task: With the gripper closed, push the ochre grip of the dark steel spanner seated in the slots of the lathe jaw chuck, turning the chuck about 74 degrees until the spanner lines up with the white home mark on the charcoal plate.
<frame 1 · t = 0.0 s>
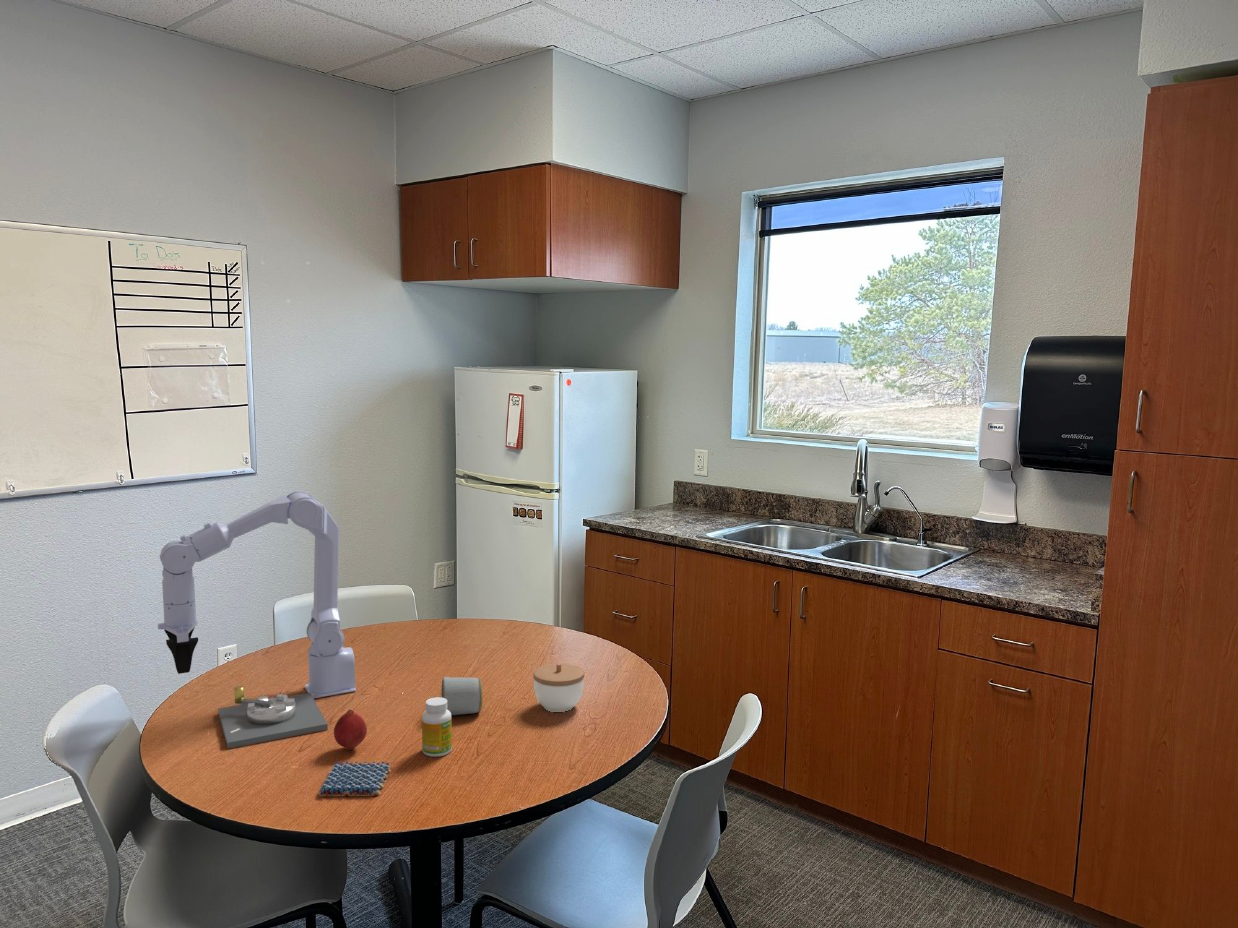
hand: (182, 666, 176), 10 cm above the table, tool pointing down, fingers open, 7 cm apart
base plate: (271, 721, 174), on the table
onion: (350, 750, 163), on the table
ceramic mug: (459, 711, 181), on the table
lidded jar: (558, 707, 184), on the table
lathe jaw chuck: (263, 702, 174), point 4 cm above the table, hinge at 0.0°
woven mat: (356, 785, 150), on the table
supplement bottle: (437, 751, 163), on the table
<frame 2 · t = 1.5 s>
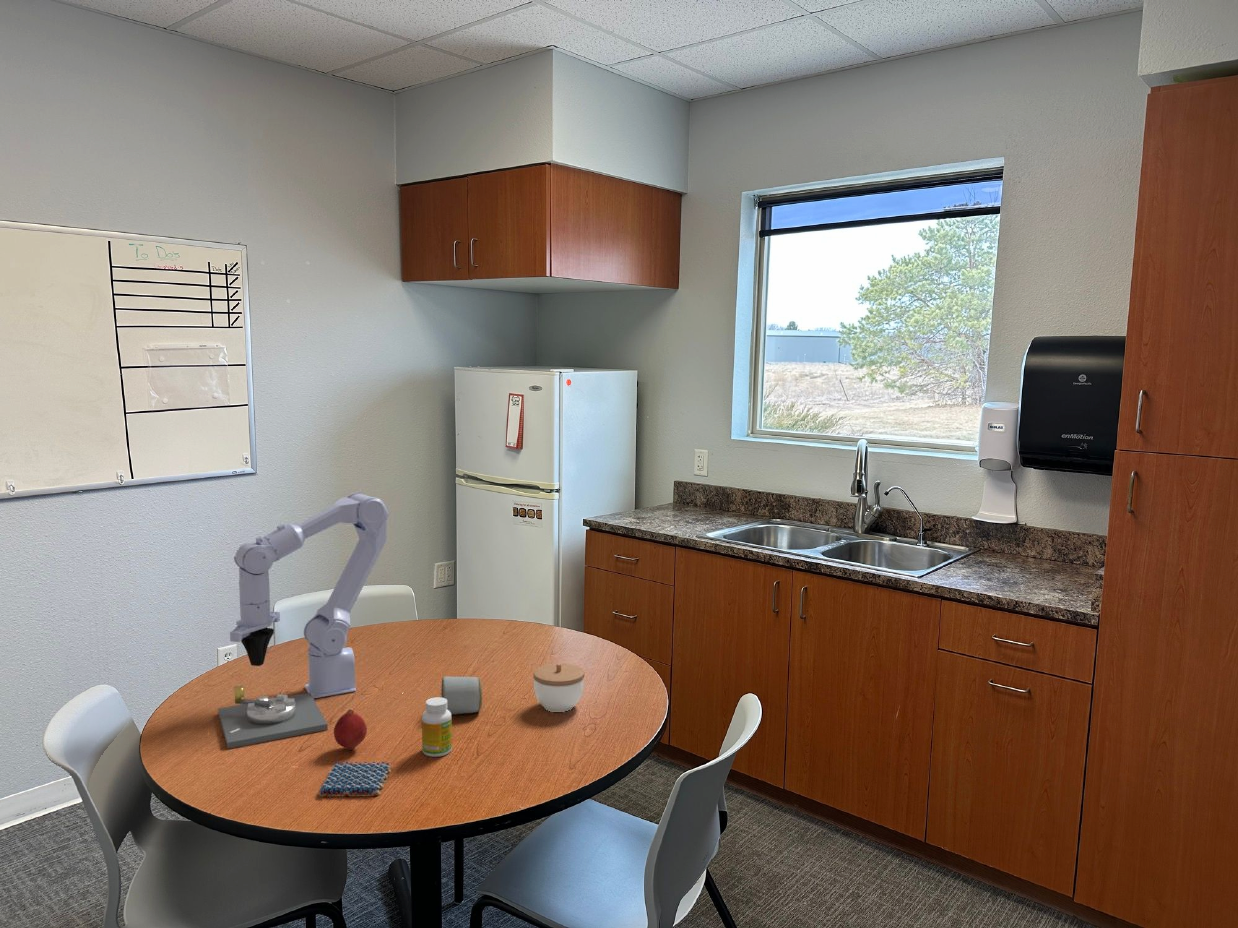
hand: (257, 664, 181), 9 cm above the table, tool pointing down, fingers closed
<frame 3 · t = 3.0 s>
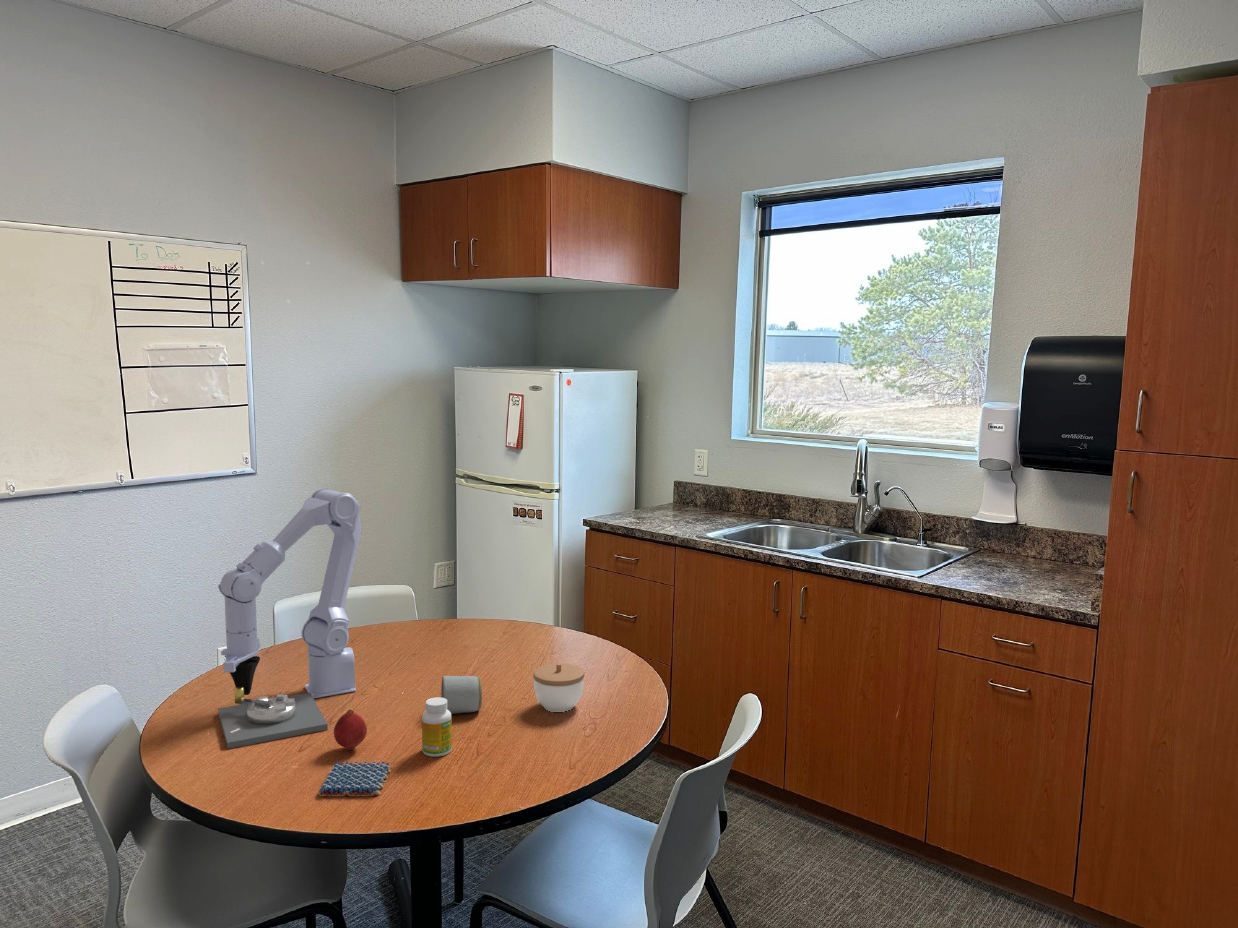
hand: (244, 693, 177), 4 cm above the table, tool pointing down, fingers closed, pressing on lathe jaw chuck
lathe jaw chuck: (263, 702, 174), point 4 cm above the table, hinge at 0.1°, touching gripper
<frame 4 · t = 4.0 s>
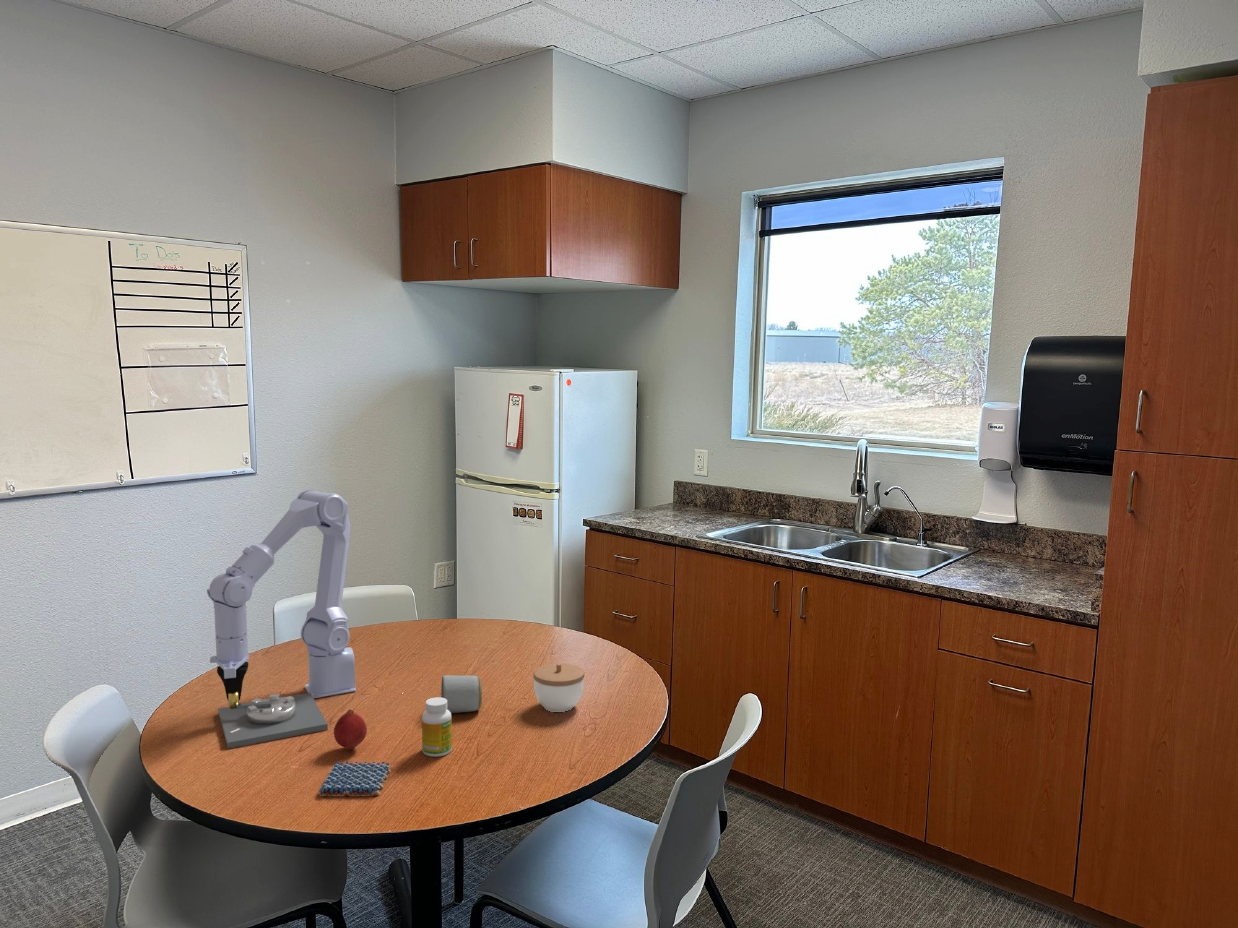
hand: (234, 700, 174), 4 cm above the table, tool pointing down, fingers closed, pressing on lathe jaw chuck
lathe jaw chuck: (262, 703, 174), point 4 cm above the table, hinge at 22.4°, touching gripper
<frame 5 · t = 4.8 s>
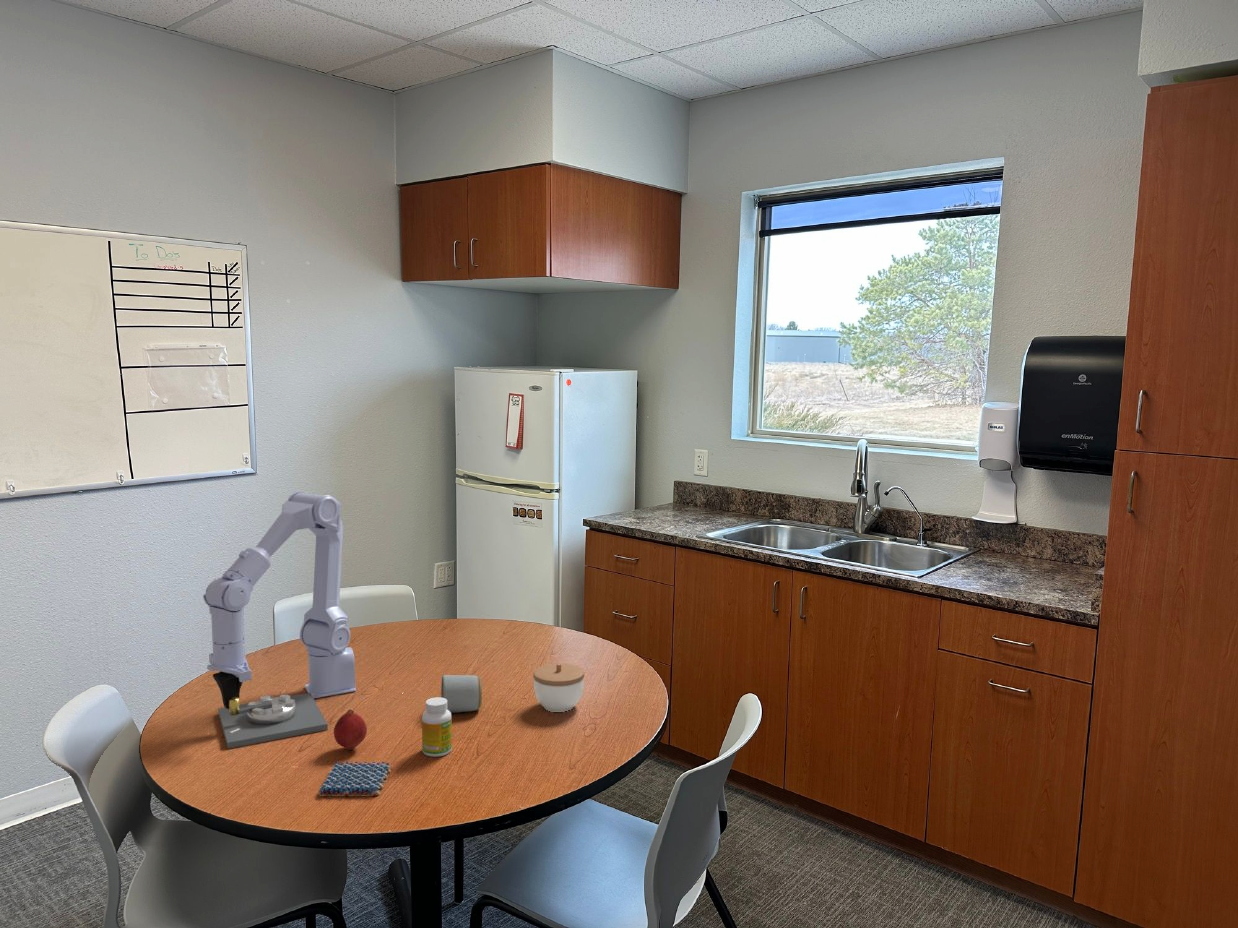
hand: (231, 706, 170), 4 cm above the table, tool pointing down, fingers closed, pressing on lathe jaw chuck
lathe jaw chuck: (262, 704, 173), point 4 cm above the table, hinge at 49.7°, touching gripper
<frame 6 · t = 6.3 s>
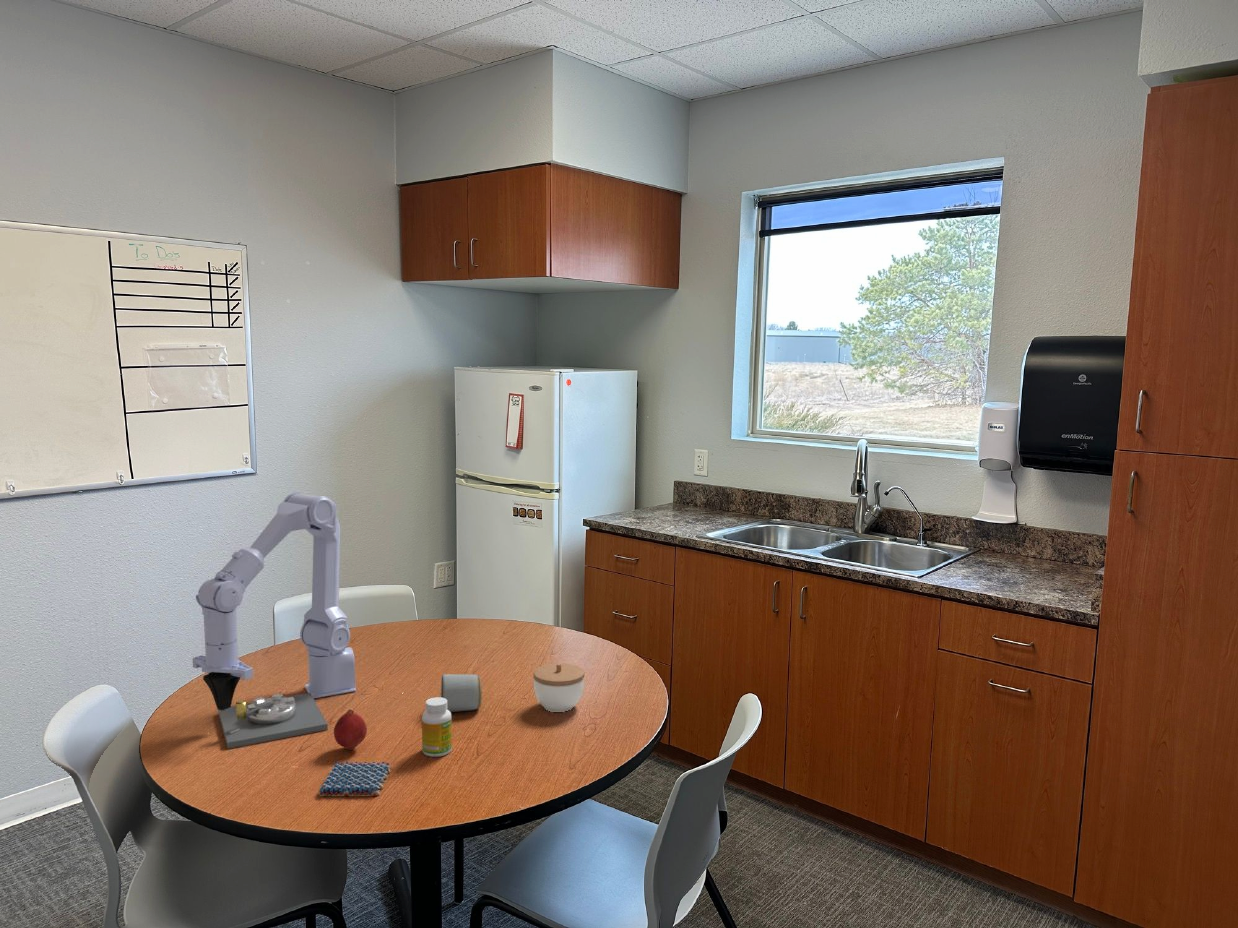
hand: (224, 708, 170), 4 cm above the table, tool pointing down, fingers closed
lathe jaw chuck: (264, 705, 172), point 4 cm above the table, hinge at 72.4°
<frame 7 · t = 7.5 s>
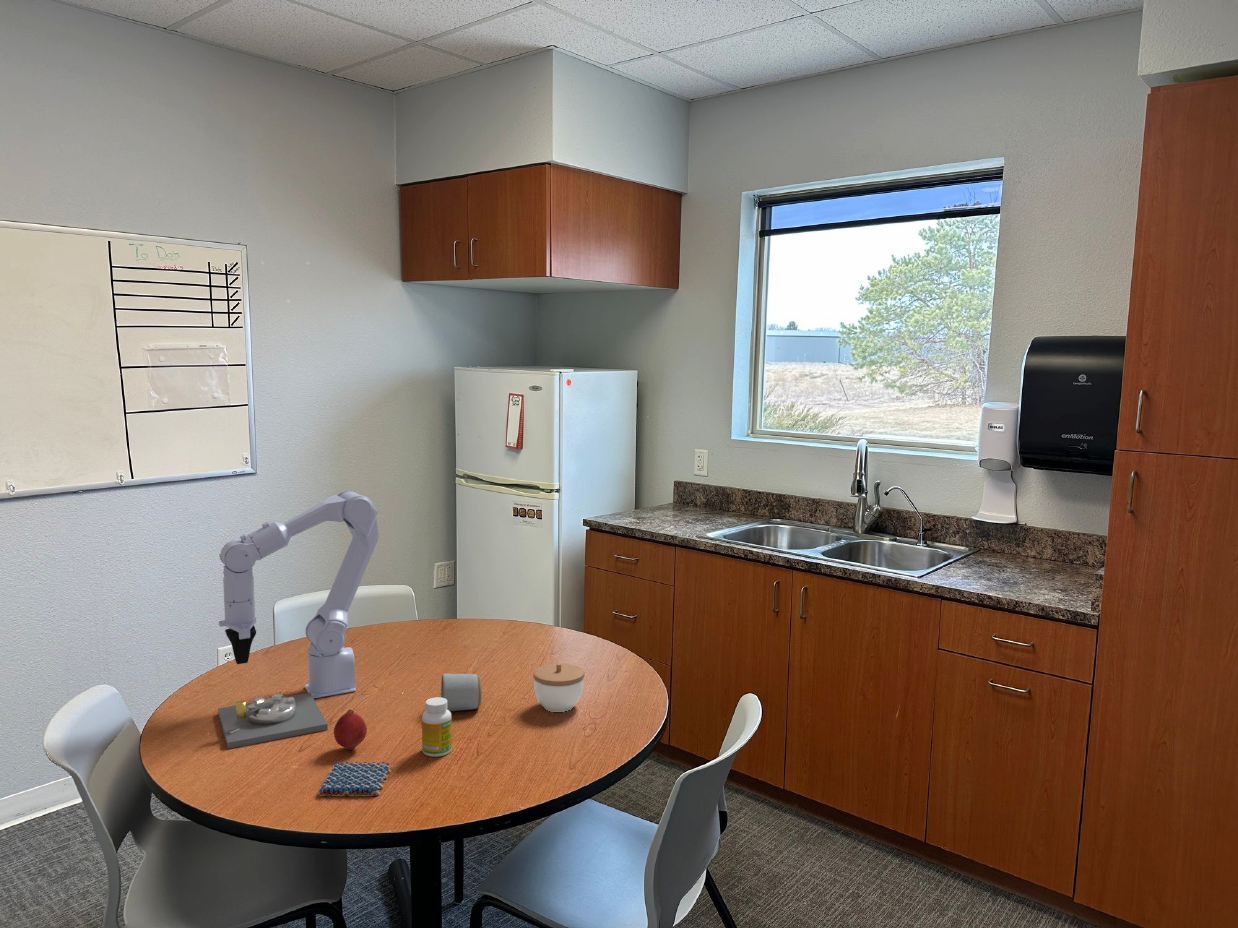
hand: (241, 662, 181), 9 cm above the table, tool pointing down, fingers closed
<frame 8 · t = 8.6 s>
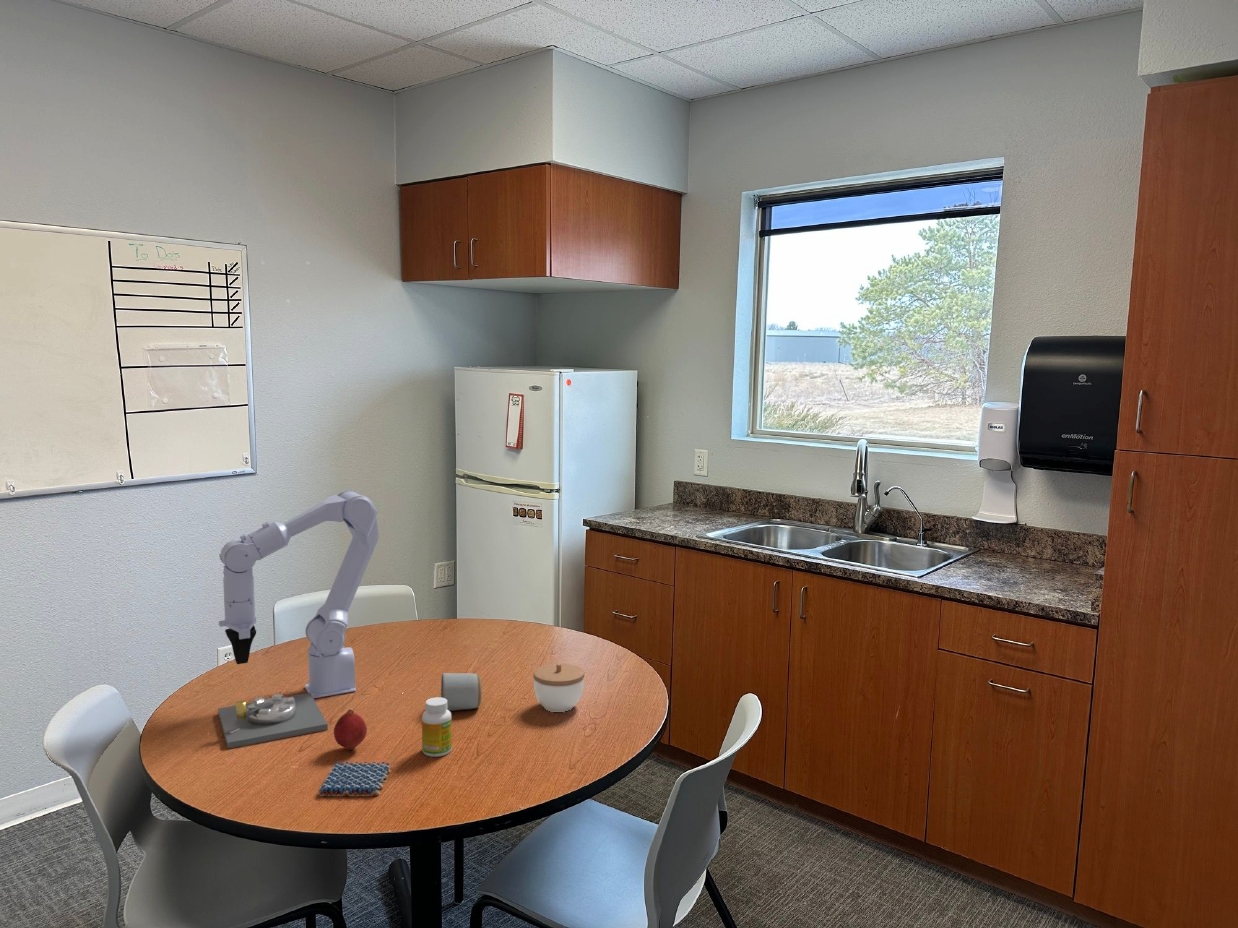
hand: (241, 662, 181), 9 cm above the table, tool pointing down, fingers closed
at the end: lathe jaw chuck at +72° (first picture: +0°); onion moved 0.2 cm from its start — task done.
